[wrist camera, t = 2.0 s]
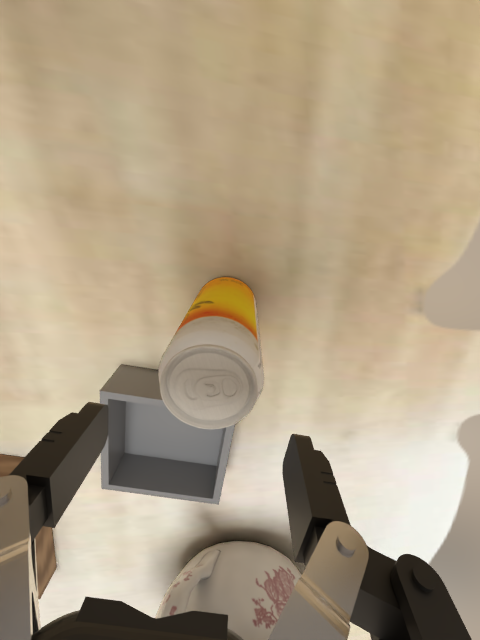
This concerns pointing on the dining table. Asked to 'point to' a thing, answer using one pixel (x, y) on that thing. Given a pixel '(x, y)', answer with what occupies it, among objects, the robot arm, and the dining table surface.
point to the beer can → (214, 358)
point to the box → (158, 443)
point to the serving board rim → (43, 540)
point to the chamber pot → (235, 587)
